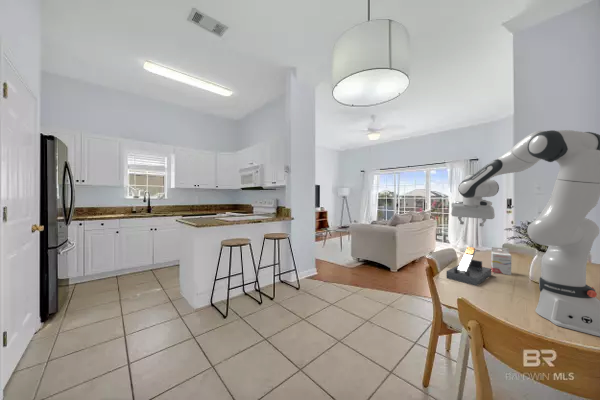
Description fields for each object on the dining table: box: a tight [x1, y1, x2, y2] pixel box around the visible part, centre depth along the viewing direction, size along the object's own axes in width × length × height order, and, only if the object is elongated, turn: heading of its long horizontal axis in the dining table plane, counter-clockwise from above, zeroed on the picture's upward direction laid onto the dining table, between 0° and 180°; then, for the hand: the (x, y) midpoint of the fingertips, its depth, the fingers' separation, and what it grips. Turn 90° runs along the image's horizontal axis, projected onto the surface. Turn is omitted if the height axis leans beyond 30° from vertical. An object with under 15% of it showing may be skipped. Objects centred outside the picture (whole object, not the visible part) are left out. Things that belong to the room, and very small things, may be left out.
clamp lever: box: [457, 246, 477, 274], centre depth 126 cm, size 4×19×2 cm
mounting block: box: [446, 259, 492, 287], centre depth 128 cm, size 14×24×8 cm, turn 125°
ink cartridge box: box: [490, 246, 512, 276], centre depth 133 cm, size 9×5×15 cm, turn 58°
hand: (471, 225), depth 131 cm, fingers open, 8 cm apart
